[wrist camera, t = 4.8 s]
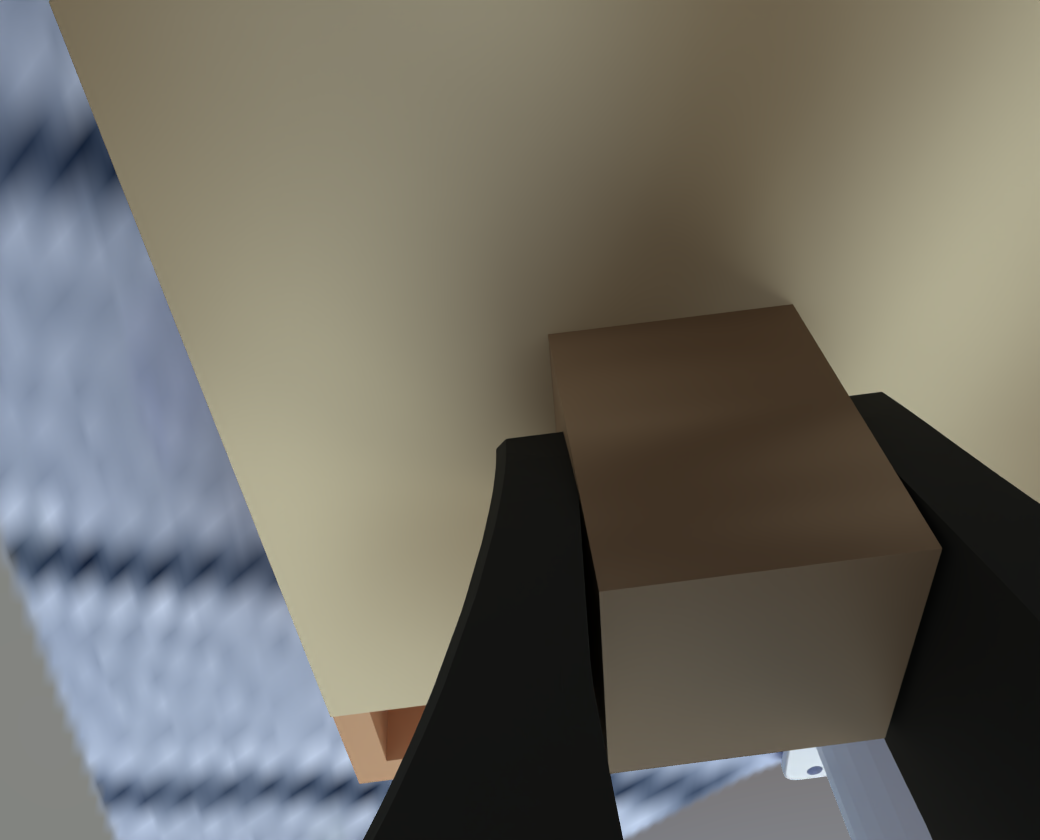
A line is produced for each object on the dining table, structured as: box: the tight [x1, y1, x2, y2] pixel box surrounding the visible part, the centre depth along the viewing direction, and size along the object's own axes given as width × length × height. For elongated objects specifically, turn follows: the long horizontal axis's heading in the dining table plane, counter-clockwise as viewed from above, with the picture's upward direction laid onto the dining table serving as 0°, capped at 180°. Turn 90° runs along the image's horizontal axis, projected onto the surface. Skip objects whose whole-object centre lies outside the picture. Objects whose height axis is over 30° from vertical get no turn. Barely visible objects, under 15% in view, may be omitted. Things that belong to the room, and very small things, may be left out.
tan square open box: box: [333, 705, 426, 784], centre depth 20 cm, size 8×8×4 cm
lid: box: [49, 0, 1040, 774], centre depth 9 cm, size 10×10×4 cm
